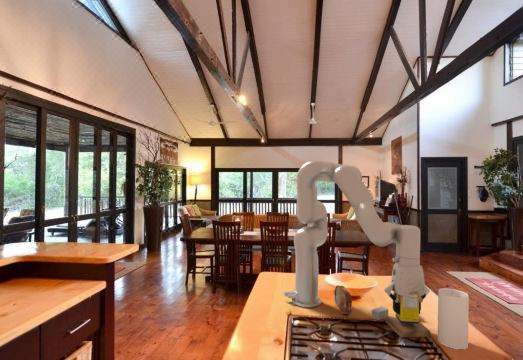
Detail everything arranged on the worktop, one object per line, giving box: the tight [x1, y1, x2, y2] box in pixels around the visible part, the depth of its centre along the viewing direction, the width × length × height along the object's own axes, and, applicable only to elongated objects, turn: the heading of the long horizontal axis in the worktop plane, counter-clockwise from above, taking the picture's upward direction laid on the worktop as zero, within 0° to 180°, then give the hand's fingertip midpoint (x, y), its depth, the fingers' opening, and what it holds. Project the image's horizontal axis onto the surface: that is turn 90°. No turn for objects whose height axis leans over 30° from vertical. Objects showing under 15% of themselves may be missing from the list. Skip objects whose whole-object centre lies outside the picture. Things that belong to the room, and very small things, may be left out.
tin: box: [334, 285, 353, 315], centre depth 121 cm, size 15×3×8 cm, turn 2°
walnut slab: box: [385, 316, 431, 338], centre depth 105 cm, size 10×10×2 cm
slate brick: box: [371, 306, 389, 321], centre depth 115 cm, size 6×3×3 cm, turn 123°
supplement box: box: [395, 292, 420, 324], centre depth 105 cm, size 6×6×11 cm
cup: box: [437, 287, 470, 350], centre depth 97 cm, size 8×8×16 cm
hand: (406, 312), depth 106 cm, fingers closed on supplement box, 6 cm apart
